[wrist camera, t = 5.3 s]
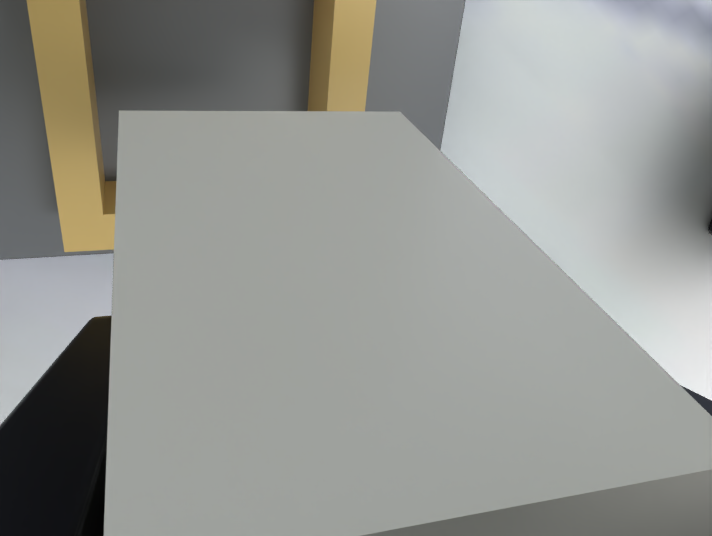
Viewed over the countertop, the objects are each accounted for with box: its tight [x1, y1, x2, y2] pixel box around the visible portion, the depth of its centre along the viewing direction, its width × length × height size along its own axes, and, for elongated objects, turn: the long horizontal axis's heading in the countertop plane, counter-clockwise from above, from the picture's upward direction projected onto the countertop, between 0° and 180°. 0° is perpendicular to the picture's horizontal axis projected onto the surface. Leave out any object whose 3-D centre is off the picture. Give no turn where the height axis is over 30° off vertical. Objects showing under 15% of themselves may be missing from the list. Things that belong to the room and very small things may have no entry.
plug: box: [104, 110, 712, 536], centre depth 7 cm, size 4×4×8 cm
